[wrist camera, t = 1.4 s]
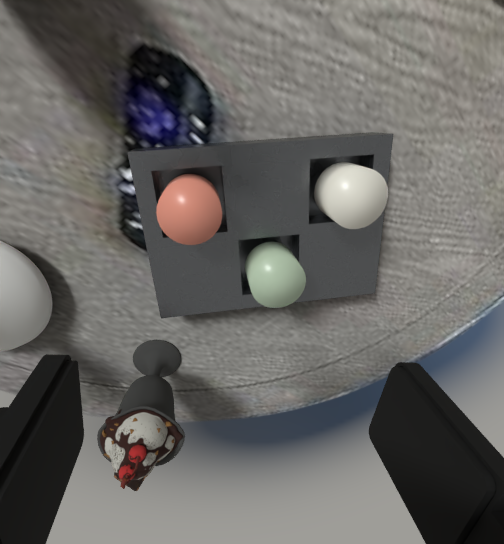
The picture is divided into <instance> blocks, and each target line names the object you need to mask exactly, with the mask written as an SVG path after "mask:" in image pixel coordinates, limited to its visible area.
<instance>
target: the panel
mask: <svg viewBox="0 0 504 544" xmlns="http://www.w3.org/2000/svg"><path fill="white" fill-rule="evenodd" d="M392 141H393V134H388V133H373V132H372V133H357V134H342V135H328V136H313V137H298V138H283V139H268V140H254V141H239V142H224V143H209V144H194V145H180V146H165V147H150V148H136V149H134V150H131V151H129V152H128V157H129V162H130V167H131V172H132V177H133V182H134V187H135V192H136V197H137V202H138V206H139V211H140V216H141V221H142V226H143V231H144V236H145V241H146V246H147V251H148V256H149V261H150V266H151V271H152V276H153V281H154V286H155V291H156V296H157V301H158V306H159V311H160V316H161V318H168V317H176V316H185V315H193V314H202V313H210V312H219V311H227V310H236V309H244V308H253V307H261V306H264V305H262V304H260V303H259V302H257V301H256V299H255V298H254V297H253V295H252V293H251V289H250V286H249V282H248V279H247V275H246V272H245V262H246V259H247V256H248V255H249V253H250V252H251V251H252V250H253V249H254V248H255V247H256V246H258V245H260V244H262V243H265V242H278V243H281V244H283V245H285V246H287V247H288V248H289V249H290V250H291V252H292V253H293V255H294V256H295V258H296V259H297V261H298V262H299V264H300V265H301V267H302V268H303V270H304V272H305V276H306V284H305V288H304V291H303V292H302V294H301V296H300V297H299V298H298V299H297V300H296V301H295V302H293V303H296V302H304V301H313V300H321V299H330V298H338V297H347V296H355V295H364V294H372V293H375V289H376V280H377V272H378V263H379V254H380V246H381V237H382V228H383V219H384V211H385V209H384V210H383V212H382V214H381V215H380V216H379V217H378V218H377V219H376V220H375V221H374V222H373V223H371V224H370V225H368V226H366V227H364V228H360V229H348V228H344V227H342V226H340V225H339V224H338V223H336V222H335V221H334V220H332V219H331V218H330V217H328V216H327V215H326V214H324V213H323V212H322V211H321V210H320V209H319V208H318V206H317V204H316V202H315V197H314V189H315V185H316V182H317V180H318V178H319V176H320V175H321V173H322V172H323V171H324V170H325V169H326V168H328V167H329V166H331V165H333V164H335V163H339V162H349V163H352V164H356V165H360V166H363V167H367V168H370V169H373V170H375V171H377V172H378V173H380V174H381V175H382V177H383V178H384V179H385V181H386V184H387V185H388V176H389V167H390V159H391V150H392ZM183 174H196V175H200V176H202V177H204V178H206V179H207V180H209V181H210V182H211V183H212V184H213V185H214V187H215V188H216V190H217V192H218V195H219V198H220V203H221V208H222V221H221V225H220V227H219V229H218V231H217V232H216V233H215V235H214V236H213V237H212V238H210V239H209V240H207V241H206V242H203V243H201V244H196V245H185V244H181V243H178V242H176V241H174V240H172V239H171V238H169V237H168V236H167V235H166V234H165V233H164V232H163V230H162V229H161V227H160V225H159V223H158V220H157V214H156V211H157V204H158V201H159V199H160V197H161V195H162V193H163V191H164V190H165V188H166V186H167V185H168V183H169V182H170V181H171V180H173V179H174V178H176V177H178V176H180V175H183Z"/></svg>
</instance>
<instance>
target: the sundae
mask: <svg viewBox="0 0 504 544" xmlns="http://www.w3.org/2000/svg"><path fill="white" fill-rule="evenodd" d="M180 361H181V356H180V353H179V351H178V349H177V348H176V347H175V346H174V345H172V344H171V343H168V342H166V341H162V340H152V341H148V342H145V343H143V344H141V345H140V346H139V347H138V348H137V349H136V350H135V352H134V355H133V362H134V365H135V367H136V368H137V369H138V370H139V371H140V372H141V373H142V374H144V375H146V376H144V377H141V378H139V379H137V380H136V381H134V382H133V383H132V385H131V386H130V388H129V389H128V391H127V393H126V394H125V396H124V398H123V400H122V403H121V405H120V407H119V409H118V411H117V413H116V415H115V416H112V417H108V418H107V419H106V422H105V424H104V425H103V426H102V427H101V428H100V430H99V431H98V438H97V439H98V446H99V448H100V450H101V452H102V454H103V456H104V457H105V458H106V459H107V460H109V461H110V462H112V466H113V469H114V471H115V473H114V477H115V478H116V479H117V480H119V481H120V482H121V487H122V488H123V489H124V488H125V485H126V486H128V487H130V488H131V489H132V490H134V491H137V490H138V489H139V487H140V485H141V484H142V482H143V481H144V479H145V477H146V476H148V474H149V473H151V471H152V470H153V468H154V466H158V465H163V464H165V463H167V462H169V461H170V460H172V459H173V458H174V457H175V456H176V455H177V454H178V452H179V451H180V449H181V447H182V445H183V442H184V437H185V435H184V431H183V430H182V428H181V427H180V425H179V424H178V423H177V422H175V415H174V398H173V392H172V388H171V386H170V384H169V383H168V382H167V381H166V380H165V379H163V378H161V377H165V376H168V375H170V374H171V373H173V372H174V371H176V369H177V368H178V367H179V365H180Z"/></svg>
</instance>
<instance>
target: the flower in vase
mask: <svg viewBox="0 0 504 544" xmlns="http://www.w3.org/2000/svg"><path fill="white" fill-rule="evenodd" d="M51 313H52V295H51V292H50V288H49V286H48V284H47V281H46V279H45V278H44V276H43V275H42V273H41V271H40V270H39V269H38V268H37V266H36V265H35V264H34V263H33V262H32V261H31V260H30V259H29V258H28V257H27V256H25V255H24V254H23V253H21V252H20V251H19V250H17V249H15V248H14V247H12V246H10V245H8V244H6V243H4V242H2V241H0V352H3V351H8V350H11V349H14V348H17V347H19V346H21V345H24V344H26V343H28V342H30V341H31V340H33V339H34V338H36V337H37V336H38V335H39V334H40V333H41V332H42V331H43V330H44V329H45V327H46V326H47V324H48V322H49V320H50V317H51Z"/></svg>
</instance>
